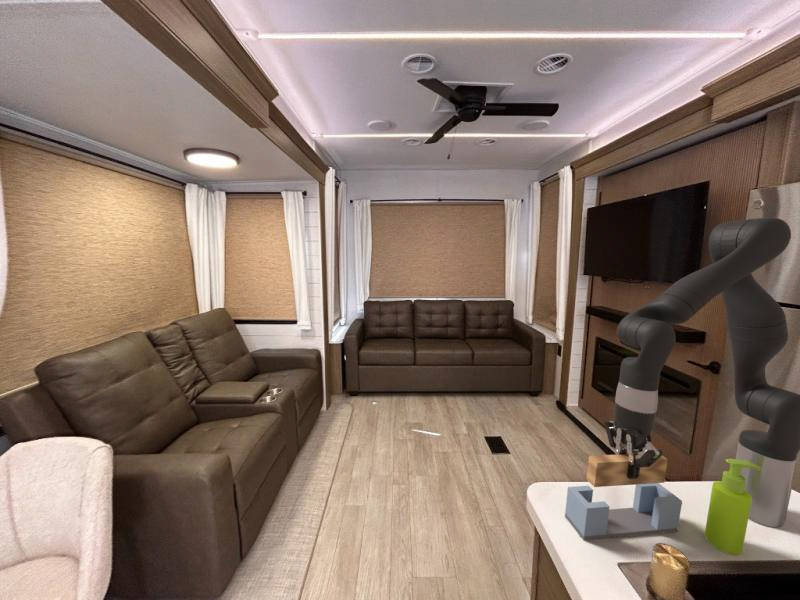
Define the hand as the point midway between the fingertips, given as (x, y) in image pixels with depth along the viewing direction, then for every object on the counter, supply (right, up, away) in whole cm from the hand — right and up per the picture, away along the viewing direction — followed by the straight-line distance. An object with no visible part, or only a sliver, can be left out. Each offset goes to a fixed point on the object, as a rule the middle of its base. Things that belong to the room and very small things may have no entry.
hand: (626, 473), depth 72 cm
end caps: (0, -13, +2) cm, 13 cm away
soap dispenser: (+20, -14, -3) cm, 25 cm away
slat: (0, -2, 0) cm, 2 cm away
